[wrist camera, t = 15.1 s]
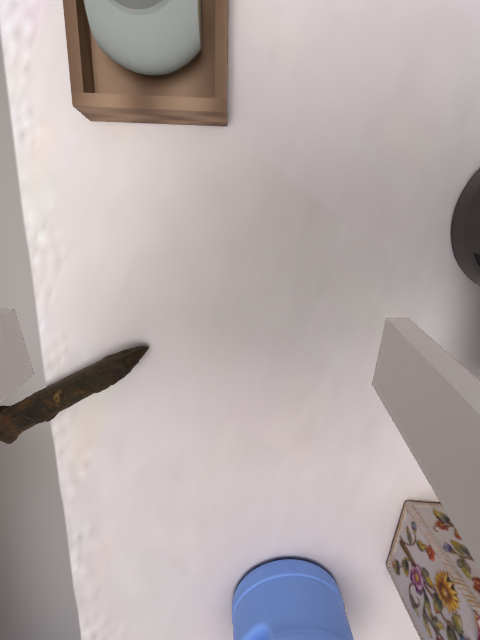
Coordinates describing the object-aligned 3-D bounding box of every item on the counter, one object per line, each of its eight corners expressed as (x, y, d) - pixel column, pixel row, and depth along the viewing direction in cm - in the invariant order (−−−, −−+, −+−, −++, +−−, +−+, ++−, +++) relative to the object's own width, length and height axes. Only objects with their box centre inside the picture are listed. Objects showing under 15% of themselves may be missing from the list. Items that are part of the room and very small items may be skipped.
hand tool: (23, 429, 38) (-4, 455, 34) (3, 403, 37) (-28, 425, 33) (161, 365, 37) (152, 383, 32) (143, 335, 36) (132, 350, 31)
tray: (229, -87, 27) (229, -135, 23) (226, 126, 30) (226, 112, 27) (72, -97, 26) (49, -147, 23) (90, 120, 30) (72, 105, 27)
